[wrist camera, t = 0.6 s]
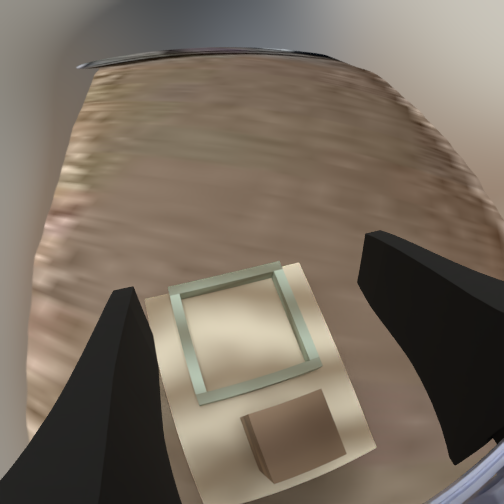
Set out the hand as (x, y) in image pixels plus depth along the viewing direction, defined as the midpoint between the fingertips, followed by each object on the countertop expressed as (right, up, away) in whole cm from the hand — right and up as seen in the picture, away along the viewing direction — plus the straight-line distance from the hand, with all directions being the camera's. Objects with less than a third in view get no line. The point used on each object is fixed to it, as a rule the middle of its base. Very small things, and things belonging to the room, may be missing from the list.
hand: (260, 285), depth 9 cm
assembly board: (0, -9, +14) cm, 17 cm away
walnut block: (+2, -12, +11) cm, 16 cm away
